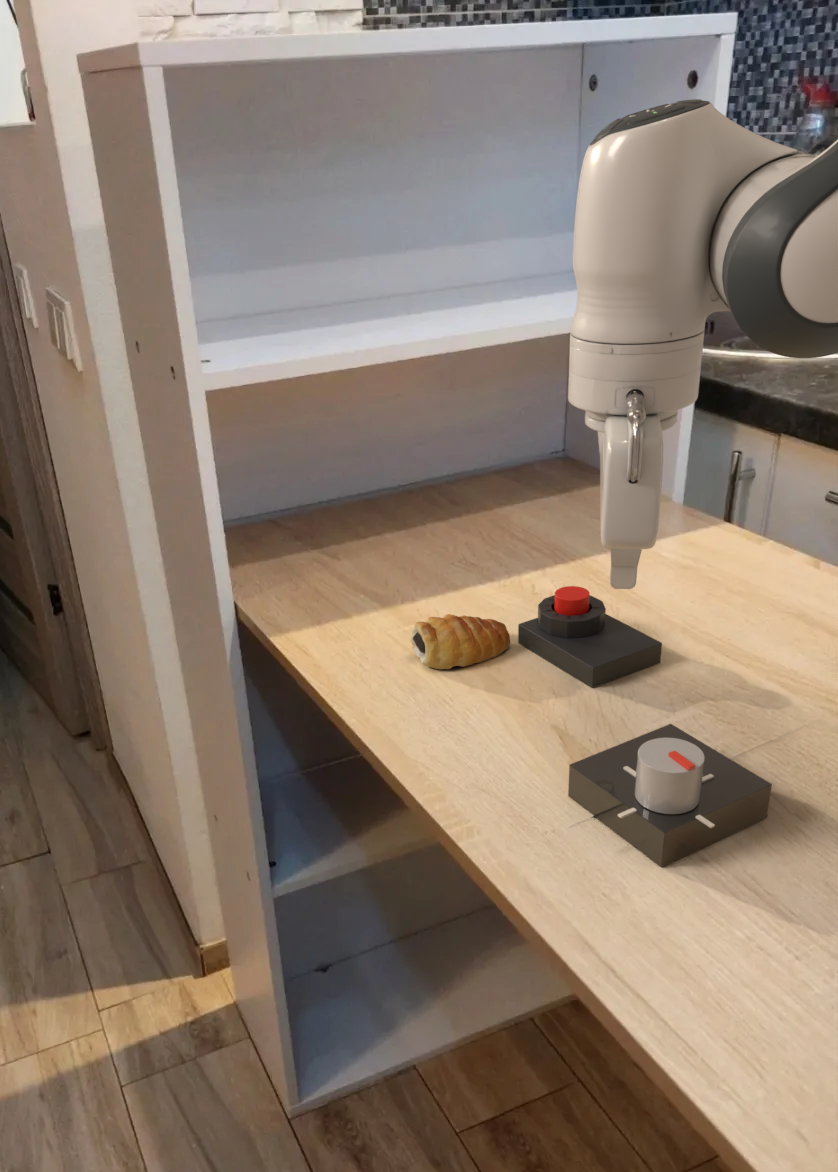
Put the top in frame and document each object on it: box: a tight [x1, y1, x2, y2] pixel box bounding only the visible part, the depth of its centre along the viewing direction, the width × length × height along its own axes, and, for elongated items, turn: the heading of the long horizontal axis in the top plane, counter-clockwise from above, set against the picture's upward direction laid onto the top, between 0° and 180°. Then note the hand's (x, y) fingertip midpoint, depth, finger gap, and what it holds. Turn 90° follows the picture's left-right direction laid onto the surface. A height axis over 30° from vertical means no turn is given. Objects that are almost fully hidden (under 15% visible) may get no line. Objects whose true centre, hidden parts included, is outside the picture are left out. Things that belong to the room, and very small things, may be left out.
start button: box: [554, 585, 591, 616], centre depth 97 cm, size 3×3×2 cm
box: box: [517, 594, 663, 689], centre depth 96 cm, size 8×11×4 cm
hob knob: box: [635, 738, 705, 814], centre depth 71 cm, size 4×4×4 cm
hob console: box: [567, 723, 773, 868], centre depth 75 cm, size 11×11×3 cm
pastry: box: [409, 613, 511, 671], centre depth 98 cm, size 9×7×4 cm
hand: (621, 559), depth 78 cm, fingers open, 8 cm apart
